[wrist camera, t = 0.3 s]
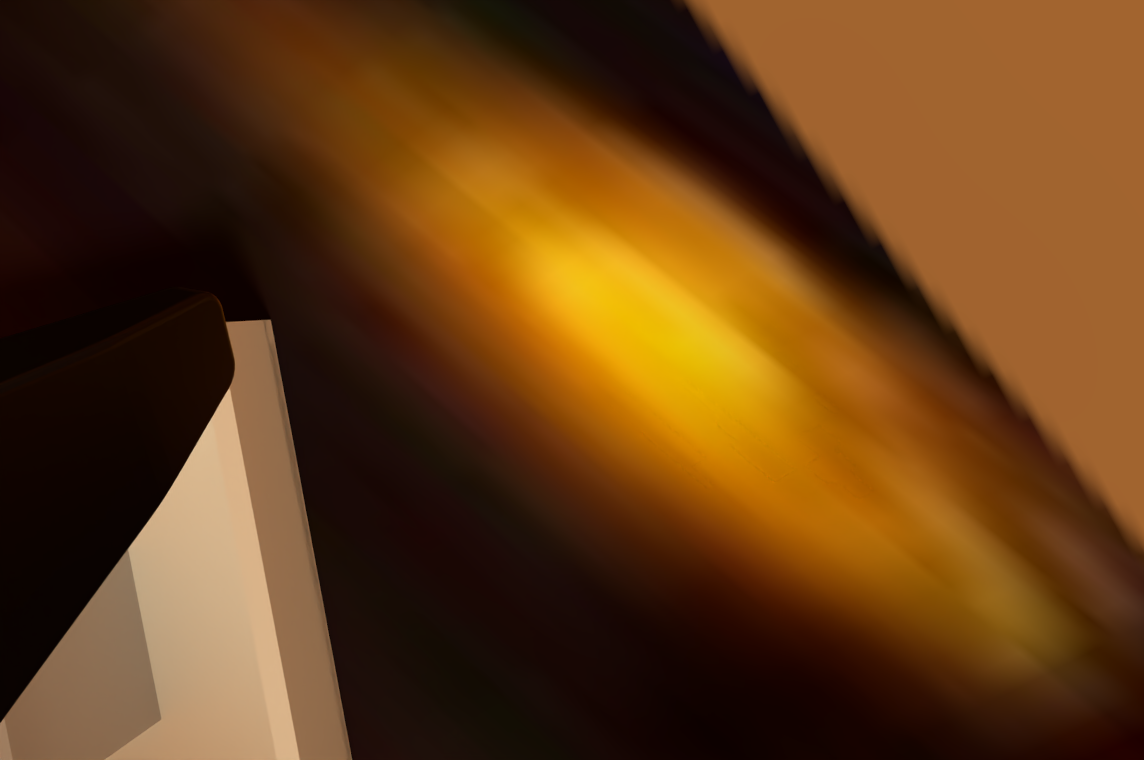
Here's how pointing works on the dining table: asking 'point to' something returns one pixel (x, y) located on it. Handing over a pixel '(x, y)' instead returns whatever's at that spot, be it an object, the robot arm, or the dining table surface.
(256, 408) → the bin
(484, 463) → the dining table surface
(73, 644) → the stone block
